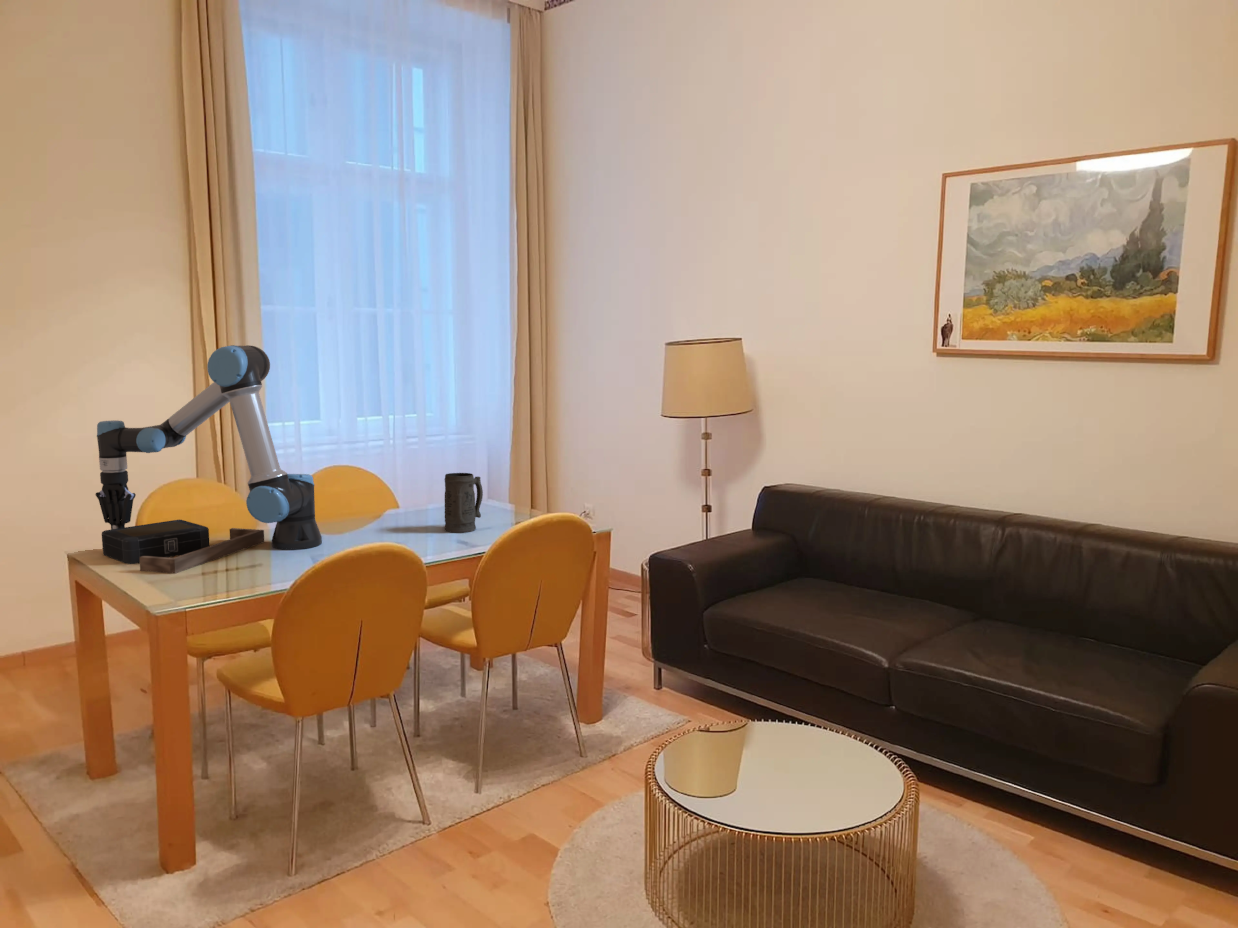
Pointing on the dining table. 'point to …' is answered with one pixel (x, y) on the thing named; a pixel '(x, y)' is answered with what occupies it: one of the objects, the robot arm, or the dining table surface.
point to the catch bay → (204, 552)
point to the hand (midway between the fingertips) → (119, 545)
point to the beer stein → (461, 502)
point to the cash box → (154, 540)
